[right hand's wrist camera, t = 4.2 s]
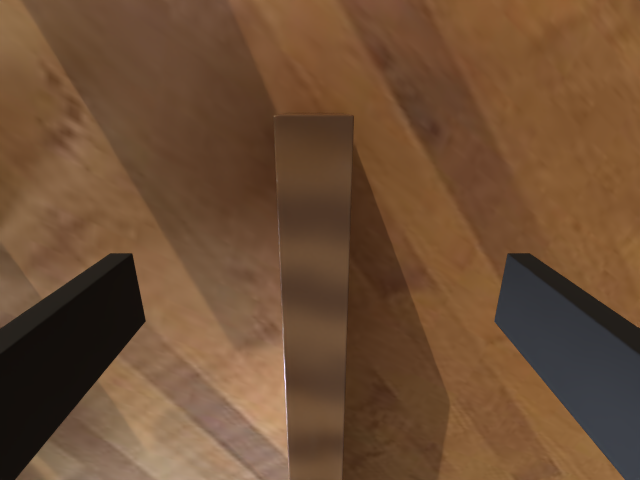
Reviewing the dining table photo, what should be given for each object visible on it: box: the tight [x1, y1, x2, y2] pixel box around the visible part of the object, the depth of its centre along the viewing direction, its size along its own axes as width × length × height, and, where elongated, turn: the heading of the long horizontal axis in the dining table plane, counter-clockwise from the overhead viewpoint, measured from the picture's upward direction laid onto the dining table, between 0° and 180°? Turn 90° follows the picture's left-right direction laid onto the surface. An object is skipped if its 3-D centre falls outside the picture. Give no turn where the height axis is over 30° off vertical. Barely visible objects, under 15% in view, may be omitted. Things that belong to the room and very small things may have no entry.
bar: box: [273, 113, 354, 480], centre depth 35 cm, size 62×5×8 cm, turn 0°
